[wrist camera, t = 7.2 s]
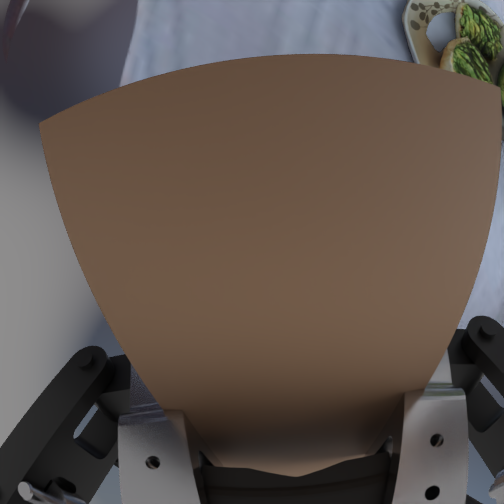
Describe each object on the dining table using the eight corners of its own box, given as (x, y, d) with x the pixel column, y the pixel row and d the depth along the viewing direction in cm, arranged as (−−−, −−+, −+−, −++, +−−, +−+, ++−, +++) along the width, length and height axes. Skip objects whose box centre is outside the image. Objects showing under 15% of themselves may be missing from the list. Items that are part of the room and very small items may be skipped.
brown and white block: (195, 106, 8) (36, 125, 2) (336, 93, 8) (500, 87, 1) (243, 362, 14) (233, 490, 8) (331, 355, 13) (351, 482, 7)
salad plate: (412, 172, 22) (438, 186, 18) (351, -7, 14) (369, -25, 10) (524, 142, 18) (549, 151, 14) (487, 3, 10) (512, -1, 6)
